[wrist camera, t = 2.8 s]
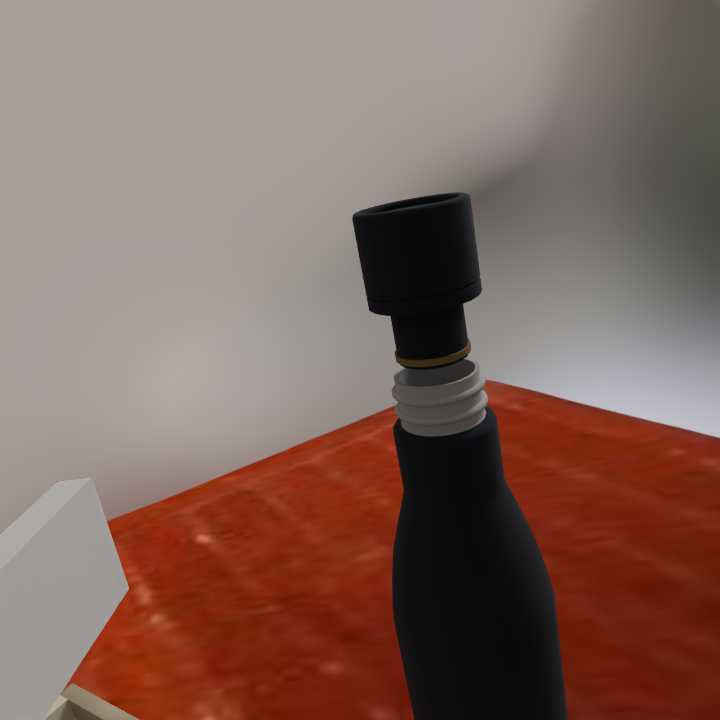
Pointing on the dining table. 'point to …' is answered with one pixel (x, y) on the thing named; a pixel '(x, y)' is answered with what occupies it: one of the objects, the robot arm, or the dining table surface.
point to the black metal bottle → (455, 486)
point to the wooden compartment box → (84, 707)
